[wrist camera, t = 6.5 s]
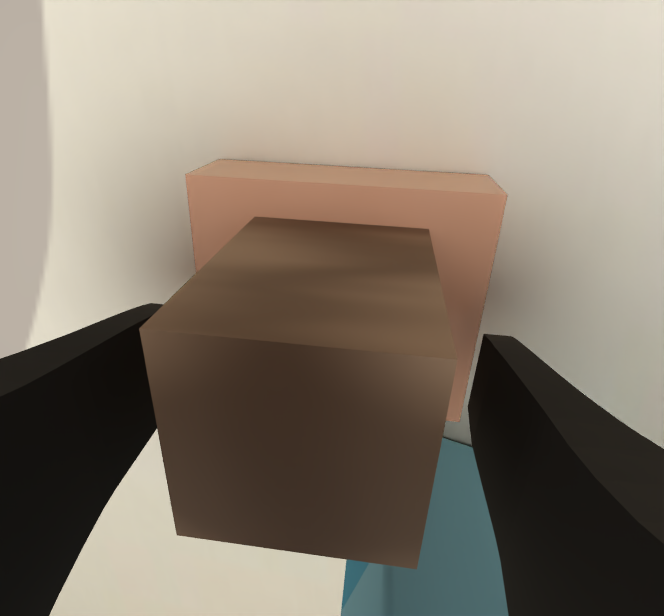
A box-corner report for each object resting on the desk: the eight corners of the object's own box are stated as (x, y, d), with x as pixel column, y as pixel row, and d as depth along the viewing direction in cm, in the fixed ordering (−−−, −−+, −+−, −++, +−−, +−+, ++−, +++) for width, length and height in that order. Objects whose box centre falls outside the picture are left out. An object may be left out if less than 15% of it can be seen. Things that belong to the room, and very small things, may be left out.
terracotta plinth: (488, 174, 13) (507, 194, 11) (450, 375, 16) (459, 422, 14) (219, 159, 14) (185, 174, 12) (233, 353, 17) (209, 394, 15)
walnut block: (428, 228, 11) (457, 359, 6) (408, 375, 13) (416, 569, 8) (254, 216, 12) (139, 328, 6) (260, 360, 14) (176, 535, 9)
